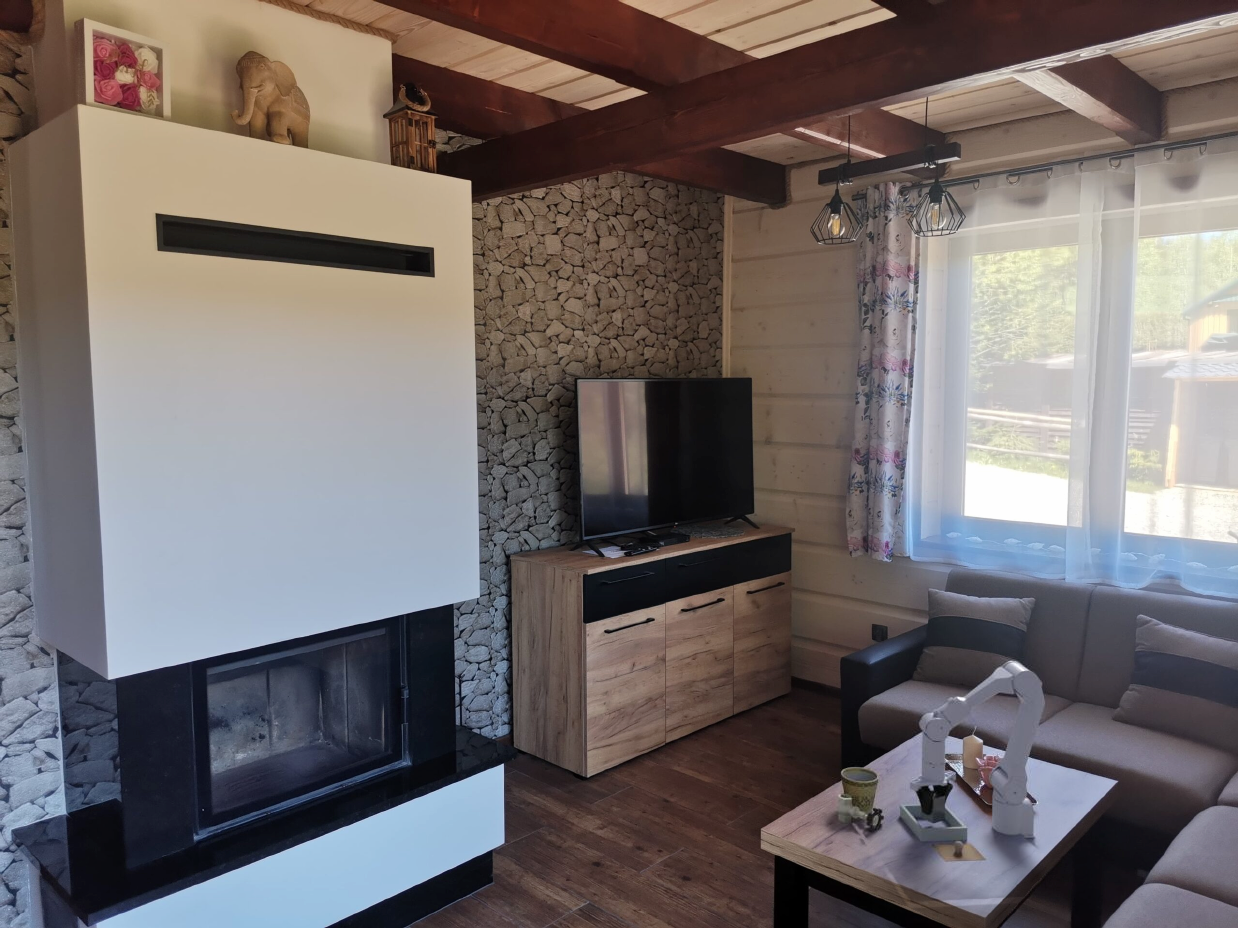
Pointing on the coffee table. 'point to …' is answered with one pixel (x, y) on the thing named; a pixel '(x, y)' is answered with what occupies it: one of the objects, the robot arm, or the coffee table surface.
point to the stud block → (958, 852)
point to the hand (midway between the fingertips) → (932, 811)
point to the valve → (857, 813)
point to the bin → (933, 834)
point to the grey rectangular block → (936, 809)
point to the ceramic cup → (860, 787)
